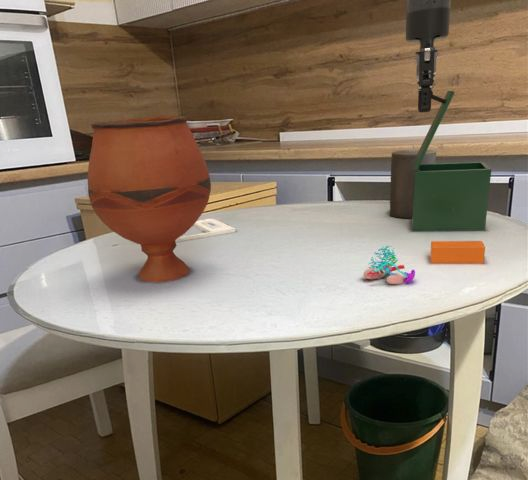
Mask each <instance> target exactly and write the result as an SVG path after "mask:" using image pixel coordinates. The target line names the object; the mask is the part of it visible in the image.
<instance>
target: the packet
mask: <svg viewBox="0 0 528 480" xmlns="http://www.w3.org/2000/svg"><path fill="white" fill-rule="evenodd" d="M485 252H486V245H485V243H484V242H483V240H441V241H440V240H439V241H438V240H437V241H436V240H435V241H434V240H432V241H430V253H429V254H430V256H429V259H430V264H484V262H485Z"/></svg>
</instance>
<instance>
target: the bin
mask: <svg viewBox="0 0 528 480" xmlns="http://www.w3.org/2000/svg"><path fill="white" fill-rule="evenodd" d="M491 179H492V168H491V167H490V166H489V165H488V164H486V162H484V161H471V162H470V161H469V162H468V161H467V162H446V163H445V162H444V163H443V162H442V163H436V164H420V165H419V167H418V169H417V171H416V170H414V189H413V209H412V218H411V226H412V227H411V232H414V233H415V232H417V233H418V232H425V233H426V232H485V231H486V225H487V215H488V204H489V196H490V187H491Z"/></svg>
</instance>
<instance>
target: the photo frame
mask: <svg viewBox="0 0 528 480" xmlns="http://www.w3.org/2000/svg"><path fill="white" fill-rule="evenodd" d="M192 227H195V228H197V229H199V230H201V231H203V232H202V233H197V234H196V233H195V234H190V235H185V236H180V237H179V238H177V239H176V240H175V242H176V243H179V242H183V241H191V240H195V239H201V238H207V237H208V238H209V237H212V236H213V237H214V236H219V235H224V234H231V233H235V232H236V228H235V227H233V226H231V225H228V224H226V223H223V222H222V221H219V220H216V219H215V218H205V219H198V220H197V221H196V223H195V224H194V225H193V226H192Z"/></svg>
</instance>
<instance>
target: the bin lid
mask: <svg viewBox="0 0 528 480" xmlns="http://www.w3.org/2000/svg"><path fill="white" fill-rule="evenodd" d="M430 90H432V89H430ZM455 94H456V92H455V91H453V90H447V92H446V94H445V96H444V98H443V97H440V96H437V95H435V94H434V92H433V91H432V94H431V100H434V101H436V102H439V103H441V104H440V105H439V108H438V110H437V112H436V115H435V116H434V119H433V121H432V122H431V124H430V127H429V129H428V131H427V133H426V135H425V137H424V139H423V141H422V143H421V146H420V148H419V149H418V150H419V152H418V154H417V156H416V158H415V160H414V170H416V171H417V169H418V167H419V165H420V163H421V161H422V159H423V157H424V155H425V153H426V151H427V150H429V147H430V145H431V144H432V141H433V138H434V137H435V135H436V133H437V130H438V128H439V126H440V125H441V122H442V120H443V119H444V116H445V114H446V112H447V110H448V107H449V105H450V103H451V101H452V99H453V97H454V95H455Z"/></svg>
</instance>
